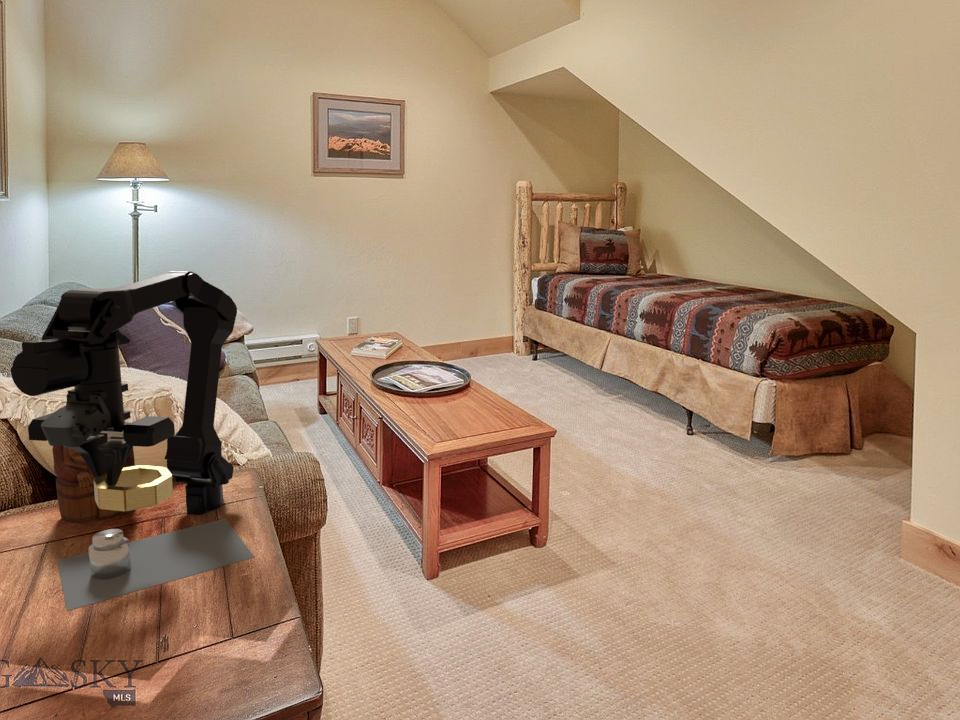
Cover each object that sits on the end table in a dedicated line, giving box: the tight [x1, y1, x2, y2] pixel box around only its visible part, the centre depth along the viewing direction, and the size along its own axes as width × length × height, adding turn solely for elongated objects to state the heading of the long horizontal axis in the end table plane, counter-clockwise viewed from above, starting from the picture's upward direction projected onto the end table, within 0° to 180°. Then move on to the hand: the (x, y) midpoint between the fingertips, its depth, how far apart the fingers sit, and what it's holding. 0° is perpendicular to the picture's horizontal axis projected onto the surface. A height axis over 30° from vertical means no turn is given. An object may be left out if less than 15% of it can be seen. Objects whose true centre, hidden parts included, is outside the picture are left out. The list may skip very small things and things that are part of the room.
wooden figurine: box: [51, 428, 136, 524], centre depth 109 cm, size 12×6×18 cm, turn 122°
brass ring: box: [94, 464, 174, 511], centre depth 92 cm, size 9×9×3 cm
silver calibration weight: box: [88, 528, 131, 580], centre depth 91 cm, size 5×5×6 cm
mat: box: [56, 518, 256, 612], centre depth 96 cm, size 24×16×2 cm, turn 127°
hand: (107, 485), depth 92 cm, fingers closed on brass ring
